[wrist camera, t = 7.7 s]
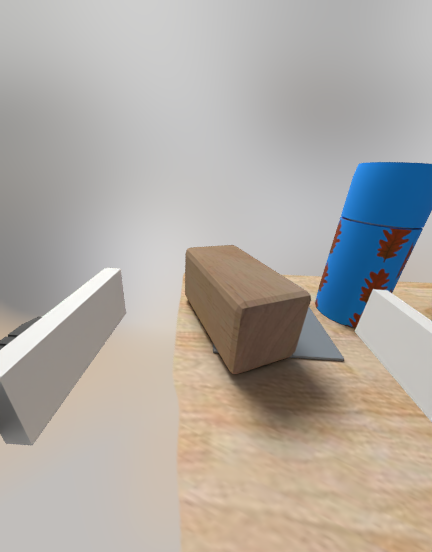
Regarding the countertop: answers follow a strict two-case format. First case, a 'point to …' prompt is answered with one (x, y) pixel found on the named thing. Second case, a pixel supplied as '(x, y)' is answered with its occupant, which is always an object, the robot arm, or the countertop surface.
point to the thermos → (374, 236)
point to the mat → (313, 342)
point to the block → (244, 306)
